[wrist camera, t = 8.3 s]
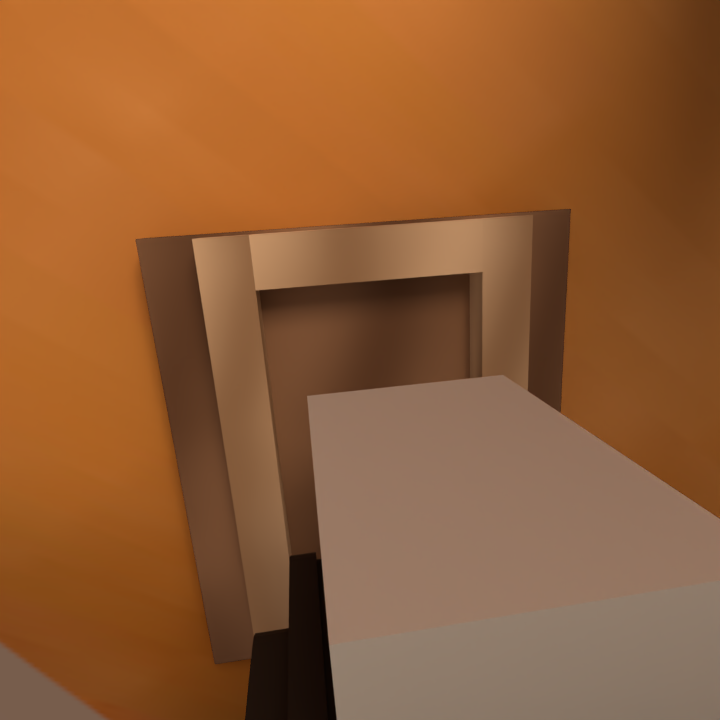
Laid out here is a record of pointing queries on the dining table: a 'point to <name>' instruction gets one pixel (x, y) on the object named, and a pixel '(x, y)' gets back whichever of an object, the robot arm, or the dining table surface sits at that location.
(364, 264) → the jig
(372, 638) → the grey rectangular block
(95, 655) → the dining table surface
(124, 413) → the dining table surface
